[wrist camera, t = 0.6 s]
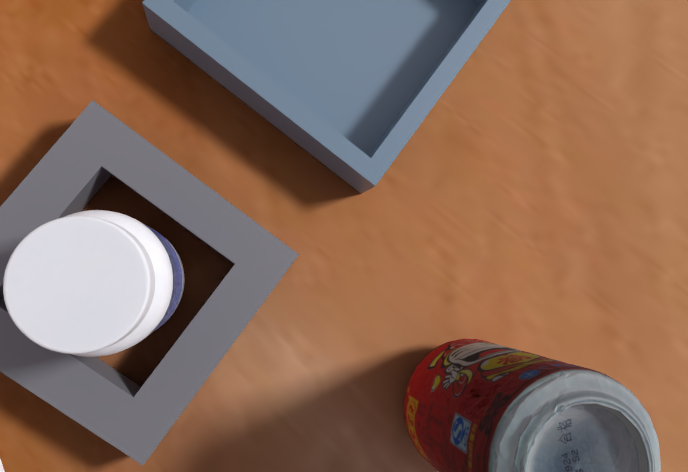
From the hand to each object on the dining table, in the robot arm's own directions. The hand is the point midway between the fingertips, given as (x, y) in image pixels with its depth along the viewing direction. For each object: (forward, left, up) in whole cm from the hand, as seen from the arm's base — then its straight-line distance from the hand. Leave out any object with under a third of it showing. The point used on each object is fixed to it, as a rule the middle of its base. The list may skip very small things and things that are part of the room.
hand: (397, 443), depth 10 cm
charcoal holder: (-3, +8, -21) cm, 23 cm away
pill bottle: (-3, +8, -21) cm, 23 cm away
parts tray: (+15, +8, -21) cm, 27 cm away
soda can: (+2, -10, -21) cm, 24 cm away
